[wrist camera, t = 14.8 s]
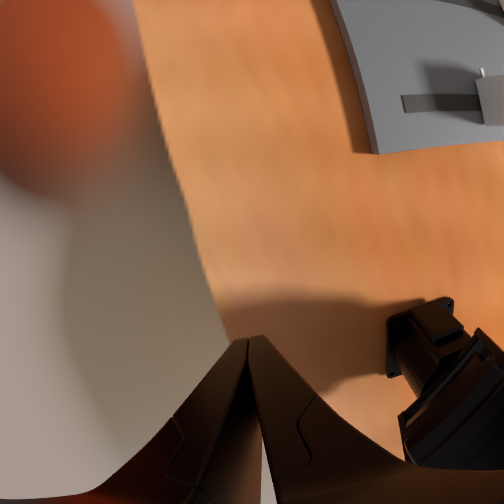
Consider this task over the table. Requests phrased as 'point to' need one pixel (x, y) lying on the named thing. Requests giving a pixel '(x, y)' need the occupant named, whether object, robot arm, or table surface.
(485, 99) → the block
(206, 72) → the table surface
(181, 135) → the table surface
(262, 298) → the table surface
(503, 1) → the fader
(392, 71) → the console
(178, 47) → the table surface
